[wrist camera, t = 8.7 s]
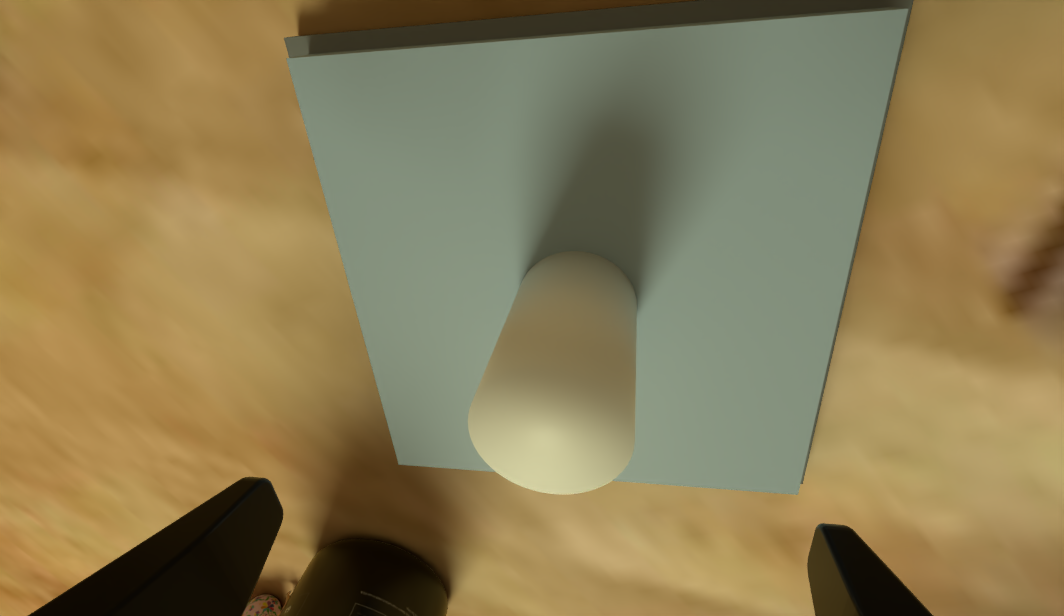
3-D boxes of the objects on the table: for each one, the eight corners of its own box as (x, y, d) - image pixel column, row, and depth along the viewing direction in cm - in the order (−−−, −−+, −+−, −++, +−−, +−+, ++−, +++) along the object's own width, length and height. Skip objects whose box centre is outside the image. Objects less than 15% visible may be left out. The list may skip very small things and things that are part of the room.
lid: (887, 7, 11) (1099, 21, 6) (790, 470, 17) (852, 669, 12) (308, 54, 13) (105, 92, 8) (409, 444, 20) (328, 601, 15)
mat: (905, -18, 11) (917, -19, 11) (797, 470, 18) (802, 484, 18) (296, 35, 14) (283, 37, 13) (404, 443, 21) (398, 455, 20)
